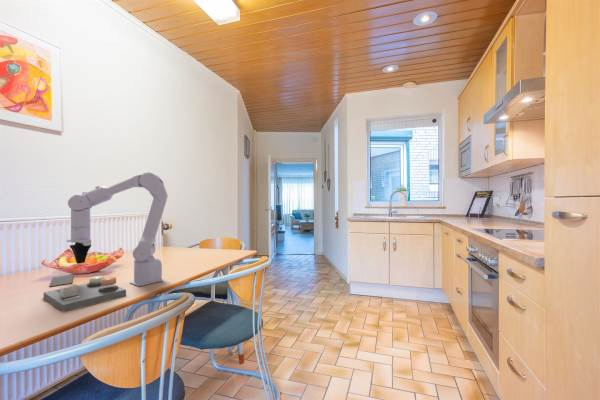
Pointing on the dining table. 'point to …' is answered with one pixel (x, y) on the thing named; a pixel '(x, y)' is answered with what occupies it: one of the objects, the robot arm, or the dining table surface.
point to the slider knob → (69, 290)
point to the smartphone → (61, 280)
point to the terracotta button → (108, 281)
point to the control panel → (84, 296)
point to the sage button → (95, 280)
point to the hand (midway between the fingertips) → (80, 263)
